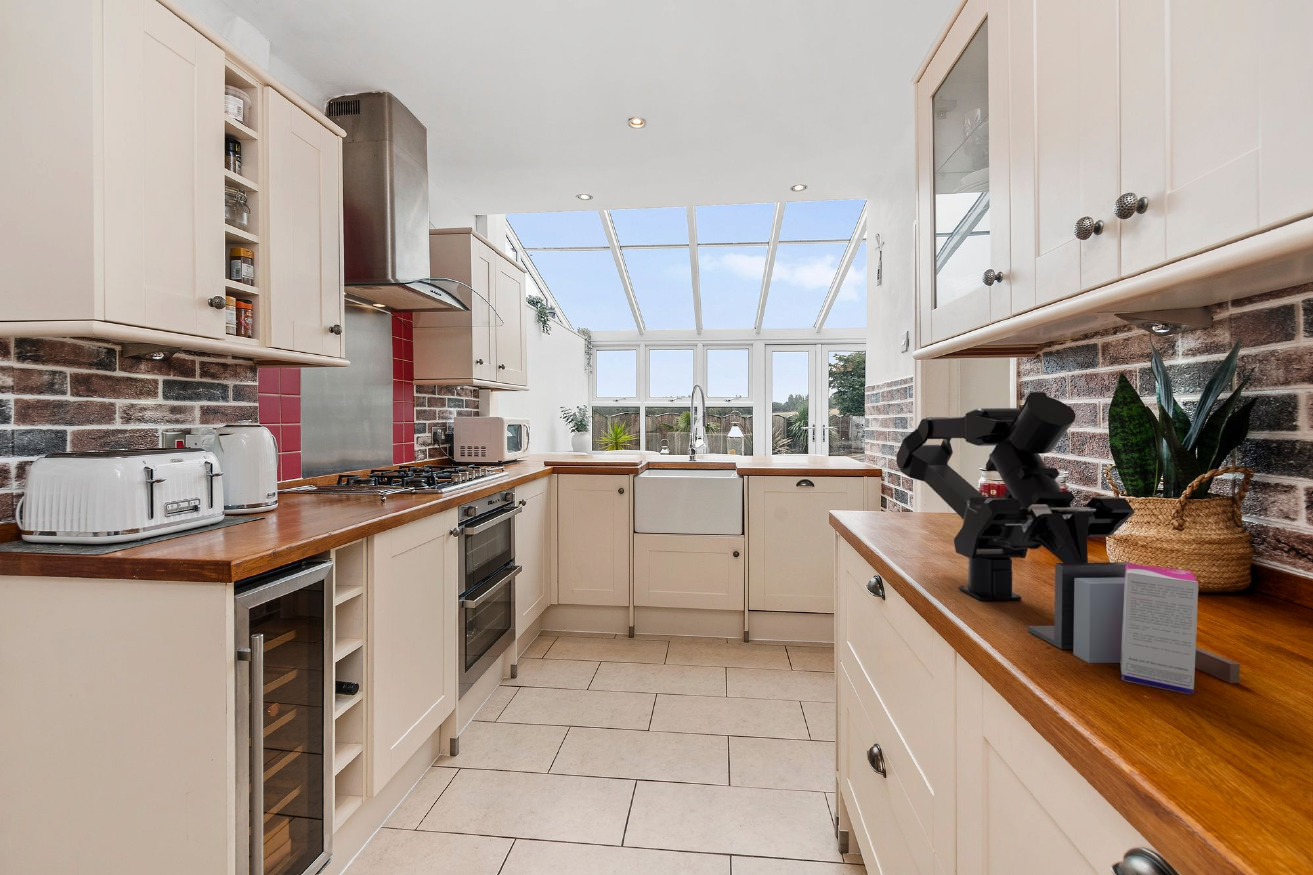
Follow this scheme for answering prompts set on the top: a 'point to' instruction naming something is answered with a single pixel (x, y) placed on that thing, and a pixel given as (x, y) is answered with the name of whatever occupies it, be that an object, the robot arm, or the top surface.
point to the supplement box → (1159, 627)
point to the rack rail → (1217, 666)
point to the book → (1098, 619)
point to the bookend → (1072, 598)
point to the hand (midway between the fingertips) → (1083, 573)
